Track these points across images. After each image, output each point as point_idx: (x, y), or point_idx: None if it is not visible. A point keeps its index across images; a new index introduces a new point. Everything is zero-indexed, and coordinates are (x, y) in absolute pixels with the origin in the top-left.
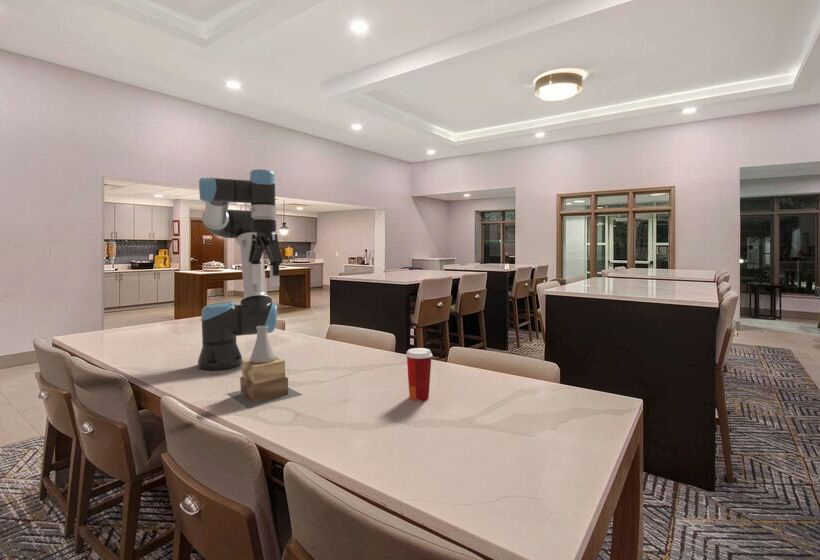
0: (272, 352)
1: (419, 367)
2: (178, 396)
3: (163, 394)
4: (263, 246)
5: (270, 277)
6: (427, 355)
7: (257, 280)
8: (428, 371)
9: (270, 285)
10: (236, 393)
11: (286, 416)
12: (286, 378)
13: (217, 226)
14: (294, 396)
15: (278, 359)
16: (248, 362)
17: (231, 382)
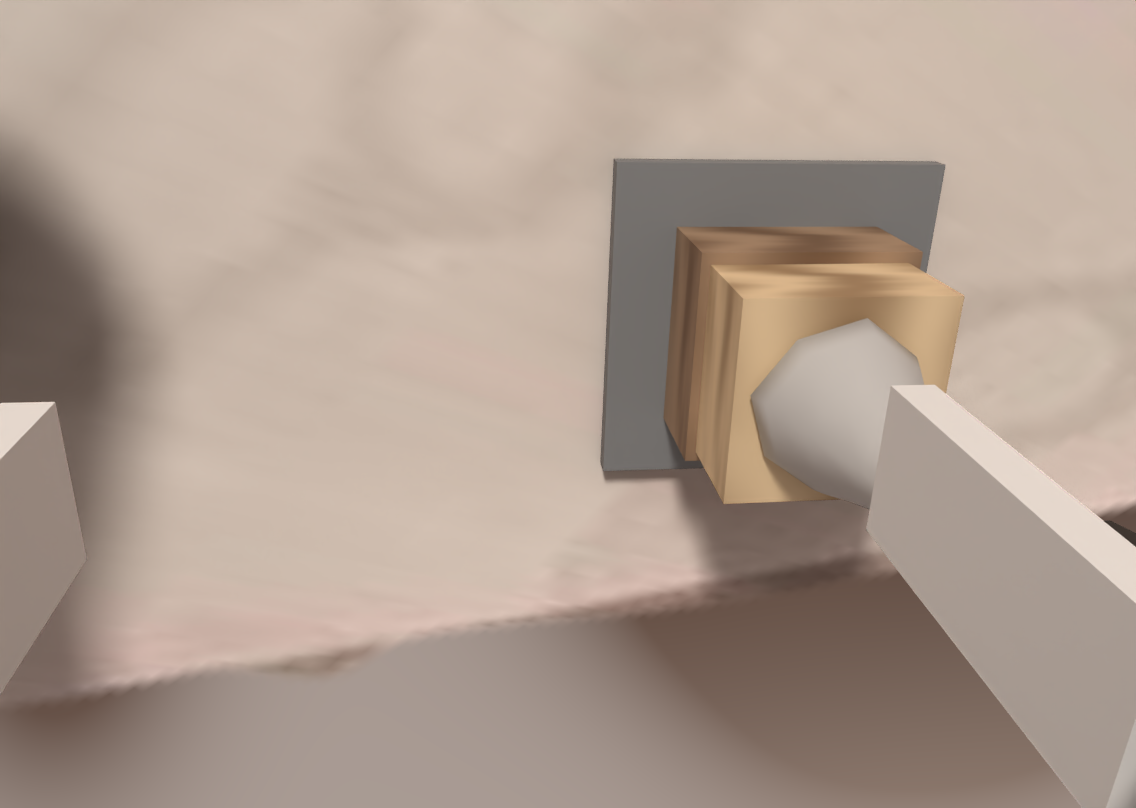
0: (910, 375)
1: None
2: (412, 628)
3: (326, 673)
4: None
5: (957, 626)
6: None
7: (43, 513)
8: None
9: (878, 537)
10: (639, 432)
11: (1069, 348)
12: (919, 261)
13: None
14: (933, 217)
15: (896, 313)
16: (805, 490)
17: (344, 357)
